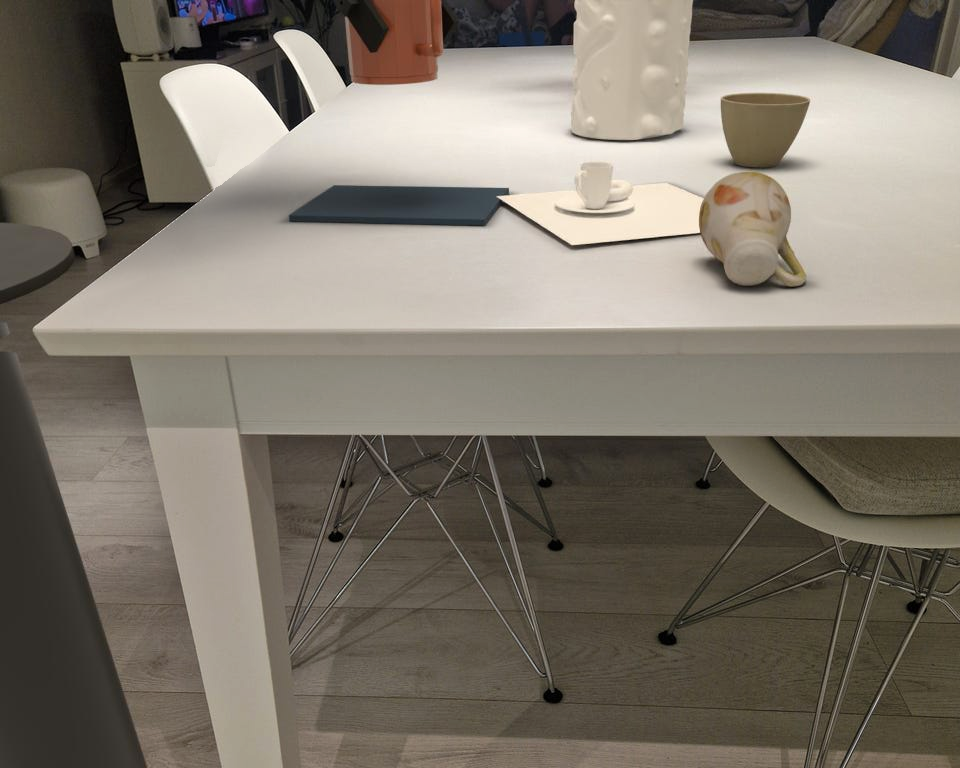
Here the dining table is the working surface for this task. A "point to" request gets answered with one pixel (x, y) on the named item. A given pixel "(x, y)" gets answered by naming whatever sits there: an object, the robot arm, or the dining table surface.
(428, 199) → the mat
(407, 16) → the tall mug
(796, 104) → the flower pot
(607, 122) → the vase
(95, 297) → the dining table surface
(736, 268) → the floral patterned cup
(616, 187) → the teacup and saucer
